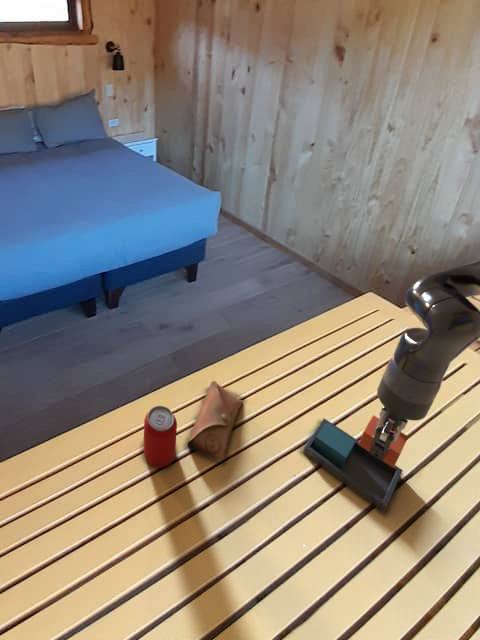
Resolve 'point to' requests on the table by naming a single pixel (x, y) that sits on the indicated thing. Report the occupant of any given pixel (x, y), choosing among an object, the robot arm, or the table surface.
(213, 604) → the table surface
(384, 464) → the frame
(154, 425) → the beverage can
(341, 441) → the pad
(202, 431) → the sunglasses case
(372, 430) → the loose pad
